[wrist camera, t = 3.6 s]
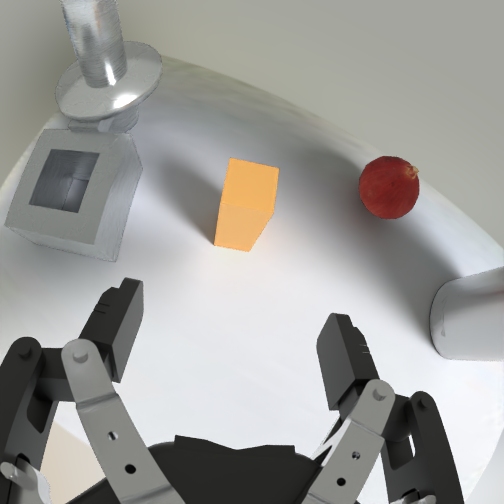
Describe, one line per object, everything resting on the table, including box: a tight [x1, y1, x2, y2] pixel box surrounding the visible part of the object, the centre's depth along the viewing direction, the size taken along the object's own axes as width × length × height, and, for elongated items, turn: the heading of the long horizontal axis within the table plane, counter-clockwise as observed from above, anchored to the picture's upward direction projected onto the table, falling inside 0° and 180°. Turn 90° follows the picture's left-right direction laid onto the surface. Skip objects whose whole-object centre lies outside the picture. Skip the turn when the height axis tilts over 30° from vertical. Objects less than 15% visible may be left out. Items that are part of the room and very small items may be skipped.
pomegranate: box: [359, 156, 419, 219], centre depth 24 cm, size 6×6×8 cm
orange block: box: [214, 158, 279, 252], centre depth 21 cm, size 3×3×9 cm
